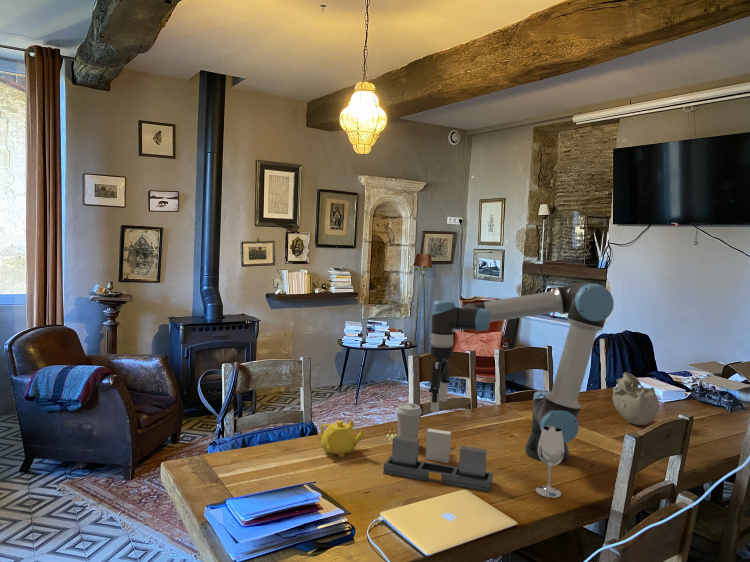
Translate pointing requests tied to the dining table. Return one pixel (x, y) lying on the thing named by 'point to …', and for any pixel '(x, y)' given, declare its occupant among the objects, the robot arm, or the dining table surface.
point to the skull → (635, 400)
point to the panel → (438, 445)
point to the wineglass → (550, 456)
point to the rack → (439, 466)
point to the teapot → (339, 438)
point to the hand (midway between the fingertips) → (438, 406)
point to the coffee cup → (408, 420)
